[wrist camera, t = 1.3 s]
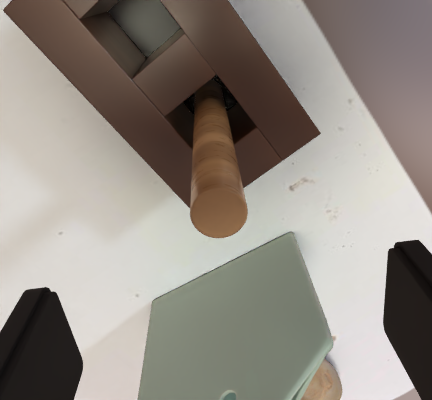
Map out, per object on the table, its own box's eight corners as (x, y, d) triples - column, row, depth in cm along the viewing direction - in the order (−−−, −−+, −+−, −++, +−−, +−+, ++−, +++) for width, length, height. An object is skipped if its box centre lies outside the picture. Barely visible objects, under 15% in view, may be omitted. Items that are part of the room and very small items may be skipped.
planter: (191, 347, 46) (186, 566, 29) (150, 300, 43) (117, 516, 26) (324, 285, 43) (410, 491, 26) (291, 230, 40) (364, 423, 22)
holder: (153, -101, 27) (136, -132, 20) (295, 102, 34) (321, 133, 27) (48, 4, 30) (1, 10, 23) (199, 174, 37) (199, 219, 30)
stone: (334, 338, 50) (307, 352, 44) (363, 390, 48) (337, 413, 41) (291, 358, 53) (259, 375, 47) (316, 409, 51) (285, 433, 44)
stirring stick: (193, 81, 33) (185, 192, 15) (220, 77, 33) (244, 184, 15) (197, 108, 34) (194, 242, 16) (223, 104, 34) (250, 234, 16)
